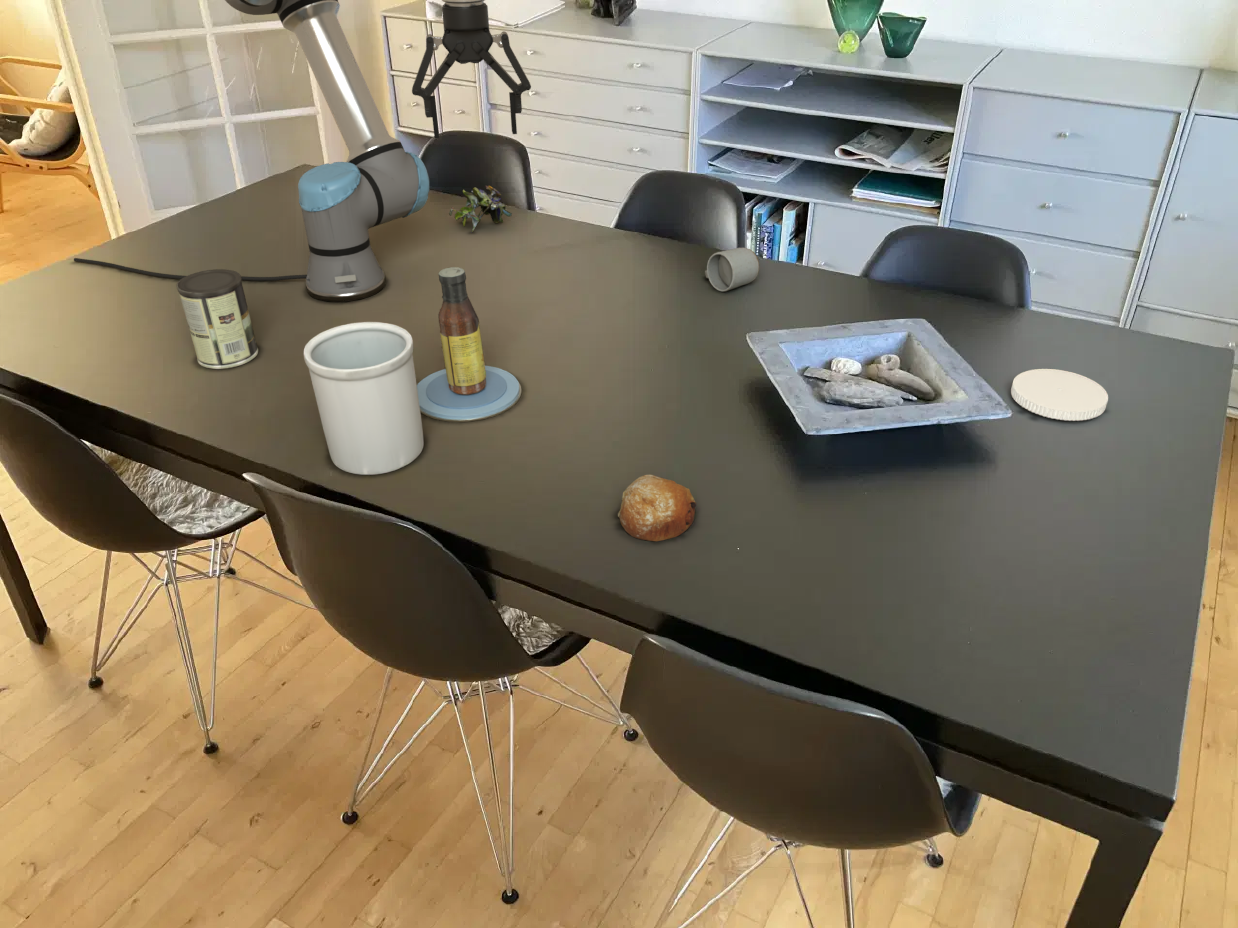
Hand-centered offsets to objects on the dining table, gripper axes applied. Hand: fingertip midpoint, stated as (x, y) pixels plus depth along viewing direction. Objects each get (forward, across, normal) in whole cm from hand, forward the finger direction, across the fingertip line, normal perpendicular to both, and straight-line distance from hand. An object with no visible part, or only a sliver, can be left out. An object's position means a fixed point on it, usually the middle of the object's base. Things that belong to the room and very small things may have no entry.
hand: (475, 134), depth 174 cm
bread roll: (+32, +19, -76) cm, 84 cm away
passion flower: (+32, 0, +41) cm, 52 cm away
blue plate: (+32, -5, -37) cm, 49 cm away
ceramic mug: (+32, +47, 0) cm, 57 cm away
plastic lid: (+32, +87, -55) cm, 108 cm away
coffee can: (+32, -46, -16) cm, 58 cm away
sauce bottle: (+31, -5, -37) cm, 48 cm away
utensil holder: (+32, -19, -52) cm, 64 cm away
